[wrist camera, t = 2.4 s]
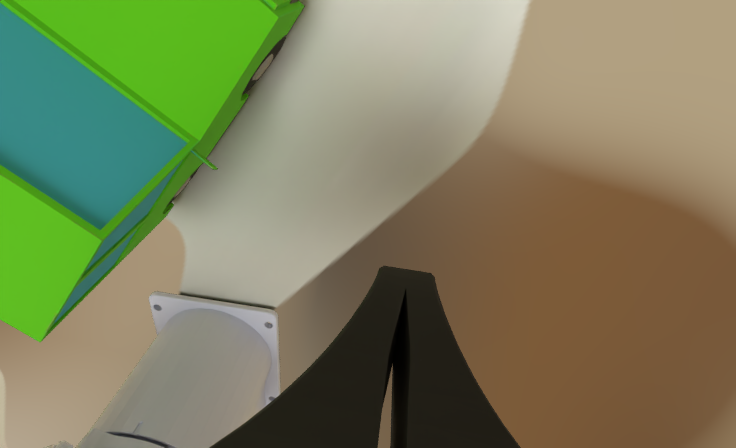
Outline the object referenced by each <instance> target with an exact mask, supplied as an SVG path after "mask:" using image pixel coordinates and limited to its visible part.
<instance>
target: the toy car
mask: <svg viewBox="0 0 736 448" xmlns="http://www.w3.org/2000/svg"><path fill="white" fill-rule="evenodd" d="M303 8H304V5H303V4H302V3H301V2H299V1H298V0H0V320H2V321H4V322H5V323H7V324H9V325H11V326H12V327H14V328H16V329H18V330H20V331H21V332H23V333H25V334H26V335H28V336H30V337H32V338H33V339H35V340H37V341H39V342H41V341H42V340H43V339H44V338H45V337H46V336H47V335H48V334H49V333H50V332H51V331H52V330H53V329H54V328H55V327H56V326H57V325H58V324H59V323H60V322H61V321H62V320H63V319H64V318H65V317H66V316H67V315H68V314H69V313H70V312H71V311H72V310H73V309H74V308H75V307H76V306H77V305H78V304H79V303H80V302H81V301H82V300H83V299H84V298H85V297H86V296H87V295H88V294H89V293H90V292H91V291H92V290H93V289H94V288H95V287H96V286H97V285H98V284H99V283H100V282H101V281H102V280H103V279H104V278H105V277H106V276H107V275H108V274H109V273H110V272H111V271H112V270H113V269H114V268H115V267H116V266H117V265H118V264H119V263H120V262H121V261H122V260H123V259H124V258H125V257H126V256H127V255H128V254H129V253H130V252H131V251H132V250H133V249H134V248H135V247H136V246H137V245H138V244H139V243H140V242H141V241H142V240H143V239H144V238H145V237H146V236H147V235H148V234H149V233H150V232H151V231H152V230H153V229H154V228H155V227H156V226H157V225H158V224H159V223H160V222H161V221H162V220H163V219H164V218H165V217H166V216H167V214H168V213H169V211H170V210H171V209H172V207H173V206H174V204H173V203H171V202H172V201H173V200H174V199H175V198H176V197H177V196H178V194H179V193H180V192H181V191H182V190H183V189H184V187H185V186H186V185H187V184H188V182H189V181H190V179H191V178H192V177H193V175H194V174H195V172H196V171H197V169H198V168H199V166H200V165H201V164H203V162H204V163H205V164H207V165H208V166H209V167H210V168H211V169H214V170H217V169H218V168H217V167H216V166H214V165H213V164H212V163H211V162H210V161H208V160H207V159H206V158H207V156H208V155H209V154H210V152H211V151H212V149H213V148H214V146H215V145H216V143H217V142H218V141H219V139H220V138H221V136H222V135H223V133H224V132H225V130H226V129H227V127H228V126H229V125H230V123H231V122H232V120H233V119H234V117H235V116H236V114H237V113H238V112H239V110H240V109H241V107H242V106H243V104H244V103H245V101H246V99H247V98H248V96H249V95H248V94H246V92H247V91H248V90H249V89H250V88H251V87H252V86H253V85H254V84H255V83H256V81H257V80H258V79H259V78H260V77H261V75H262V74H263V73H264V72H265V70H266V69H267V68H268V66H269V65H270V64H271V62H272V61H273V59H274V58H275V56H276V55H277V53H278V52H279V50H280V49H281V47H282V45H283V43H284V40H285V37H284V36H285V35H287V34H288V32H289V30H290V29H291V27H292V26H293V24H294V22H295V21H296V19H297V18H298V16H299V14H300V13H301V11H302V10H303Z"/></svg>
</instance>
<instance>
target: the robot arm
mask: <svg viewBox="0 0 736 448" xmlns="http://www.w3.org/2000/svg"><path fill="white" fill-rule="evenodd" d="M149 303H150V307H151V311H152V315H153V320H154V324H155V328H156V332H157V337H156V338H155V340H154V341H153V343H152V344H151V345H150V347H149V348H148V350H147V351H146V352H145V354H144V355H143V357H142V358H141V359H140V361H139V362H138V364H137V365H136V367H135V368H134V369H133V371H132V372H131V374H130V375H129V376H128V378H127V379H126V380H125V382H124V383H123V385H122V386H121V387H120V389H119V390H118V392H117V393H116V394H115V396H114V397H113V399H112V400H111V401H110V403H109V404H108V406H107V407H106V408H105V410H104V411H103V413H102V414H101V415H100V417H99V418H98V420H97V421H96V422H95V424H94V425H93V427H92V428H91V429H90V431H89V432H88V433H87V435H86V436H85V437H84V438H83V439H82V440H81V441H80V443H79V444H78V445H77V446H76V447H75V448H377V447H378V438H379V429H380V421H381V413H382V407H383V402H384V398H385V394H386V390H387V385H388V381H389V376H390V372H391V367H392V364H393V374H392V411H391V412H392V413H391V446H390V448H520V446H519V445H518V443H517V442H516V441H515V439H514V438H513V437H512V435H511V434H510V433H509V431H508V430H507V428H506V427H505V426H504V424H503V423H502V421H501V420H500V418H499V417H498V415H497V414H496V412H495V411H494V409H493V408H492V406H491V405H490V403H489V401H488V400H487V398H486V397H485V395H484V393H483V391H482V390H481V388H480V386H479V385H478V383H477V381H476V379H475V378H474V376H473V374H472V372H471V370H470V368H469V367H468V365H467V362H466V360H465V358H464V356H463V354H462V352H461V350H460V348H459V346H458V344H457V342H456V339H455V337H454V335H453V332H452V330H451V328H450V325H449V323H448V320H447V318H446V315H445V312H444V310H443V307H442V304H441V301H440V298H439V295H438V291H437V287H436V283H435V277H434V276H433V275H432V274H431V273H426V272H420V271H414V270H408V269H400V268H395V267H388V266H383V267H381V268H380V269H379V271H378V274H377V276H376V279H375V281H374V283H373V285H372V287H371V289H370V290H369V292H368V294H367V295H366V297H365V299H364V300H363V302H362V303H361V305H360V306H359V308H358V309H357V310H356V312H355V313H354V315H353V316H352V318H351V319H350V321H349V322H348V323H347V324H346V326H345V327H344V328H343V329H342V331H341V332H340V333H339V334H338V336H337V337H336V338H335V340H334V341H333V342H332V343H331V344H330V345H329V347H328V348H327V349H326V350H325V351H324V352H323V353H322V355H321V356H320V357H319V358H318V359H317V360H316V361H315V362H314V363H313V364H312V365H311V366H310V367H309V368H308V369H307V370H306V371H305V372H304V373H303V374H302V375H301V376H300V377H299V378H298V379H297V380H296V381H294V382H293V383H292V385H290V386H289V387H288V388H287V389H286V390H285V391H284V392H282V393H281V385H280V354H279V328H278V327H279V326H278V314H277V313H276V312H275V311H274V310H271V309H266V308H260V307H254V306H247V305H241V304H234V303H228V302H222V301H215V300H209V299H202V298H196V297H190V296H183V295H177V294H170V293H163V292H153V293H152V294H151V295H150V297H149ZM159 305H160V306H159ZM268 322H270V323H271V324H270V323H268ZM44 448H73V446H72V445H71V444H69V443H68V442H66V441H60V442H59V443H58V444H57V445H51V446H48V447H44Z"/></svg>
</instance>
